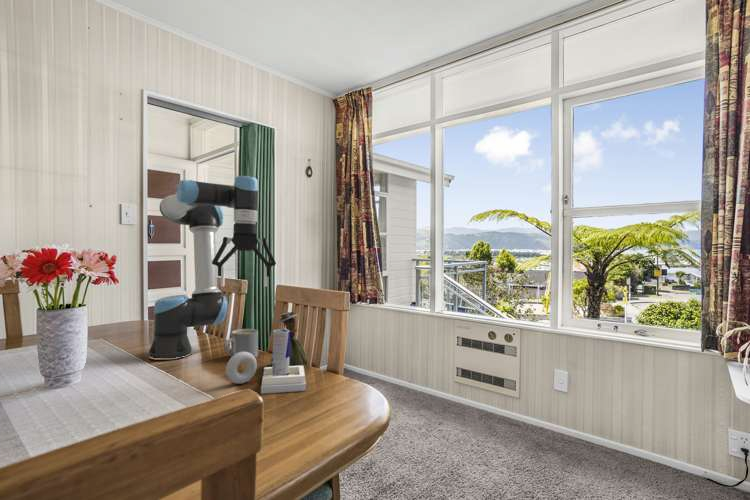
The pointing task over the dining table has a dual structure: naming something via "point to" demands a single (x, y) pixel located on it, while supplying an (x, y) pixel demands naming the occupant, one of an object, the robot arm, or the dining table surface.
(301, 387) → the tray
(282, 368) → the beverage can
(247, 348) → the coffee mug
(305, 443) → the dining table surface
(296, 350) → the figurine
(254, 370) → the donut
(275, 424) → the dining table surface
